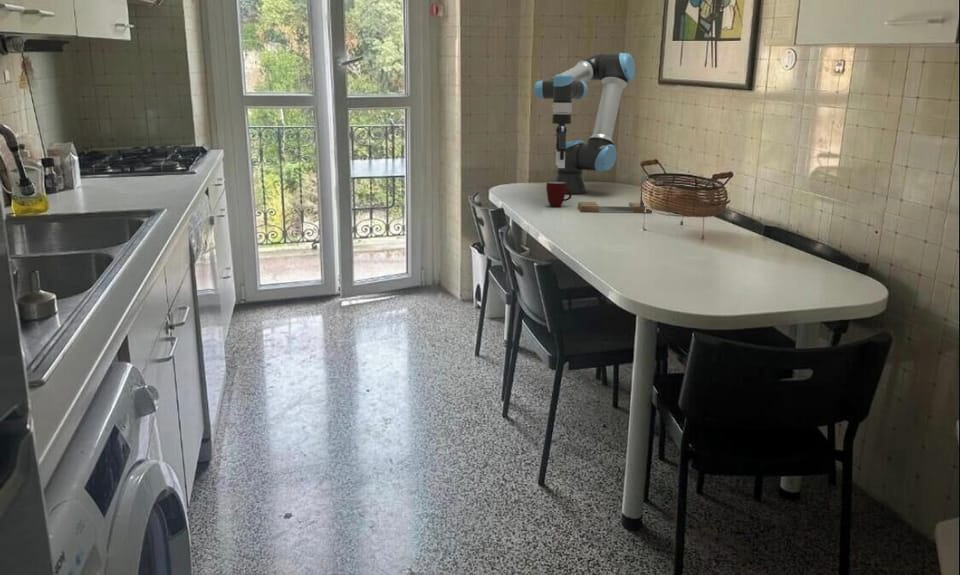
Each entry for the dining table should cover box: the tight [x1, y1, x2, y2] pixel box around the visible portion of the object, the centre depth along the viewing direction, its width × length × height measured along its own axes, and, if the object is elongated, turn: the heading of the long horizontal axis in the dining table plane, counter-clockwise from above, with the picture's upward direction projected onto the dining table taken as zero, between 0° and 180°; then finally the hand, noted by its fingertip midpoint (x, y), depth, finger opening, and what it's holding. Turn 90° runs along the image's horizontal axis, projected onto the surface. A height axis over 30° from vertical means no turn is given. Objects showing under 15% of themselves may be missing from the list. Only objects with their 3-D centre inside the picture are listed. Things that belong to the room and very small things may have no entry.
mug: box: [545, 181, 573, 208], centre depth 301 cm, size 10×8×10 cm
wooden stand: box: [577, 175, 653, 214], centre depth 290 cm, size 13×28×14 cm, turn 88°
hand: (560, 166), depth 298 cm, fingers open, 13 cm apart
